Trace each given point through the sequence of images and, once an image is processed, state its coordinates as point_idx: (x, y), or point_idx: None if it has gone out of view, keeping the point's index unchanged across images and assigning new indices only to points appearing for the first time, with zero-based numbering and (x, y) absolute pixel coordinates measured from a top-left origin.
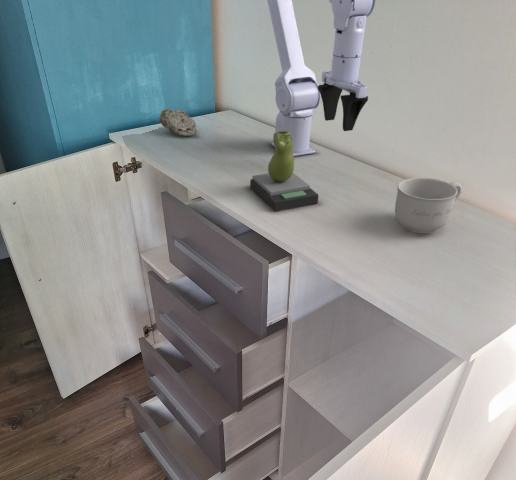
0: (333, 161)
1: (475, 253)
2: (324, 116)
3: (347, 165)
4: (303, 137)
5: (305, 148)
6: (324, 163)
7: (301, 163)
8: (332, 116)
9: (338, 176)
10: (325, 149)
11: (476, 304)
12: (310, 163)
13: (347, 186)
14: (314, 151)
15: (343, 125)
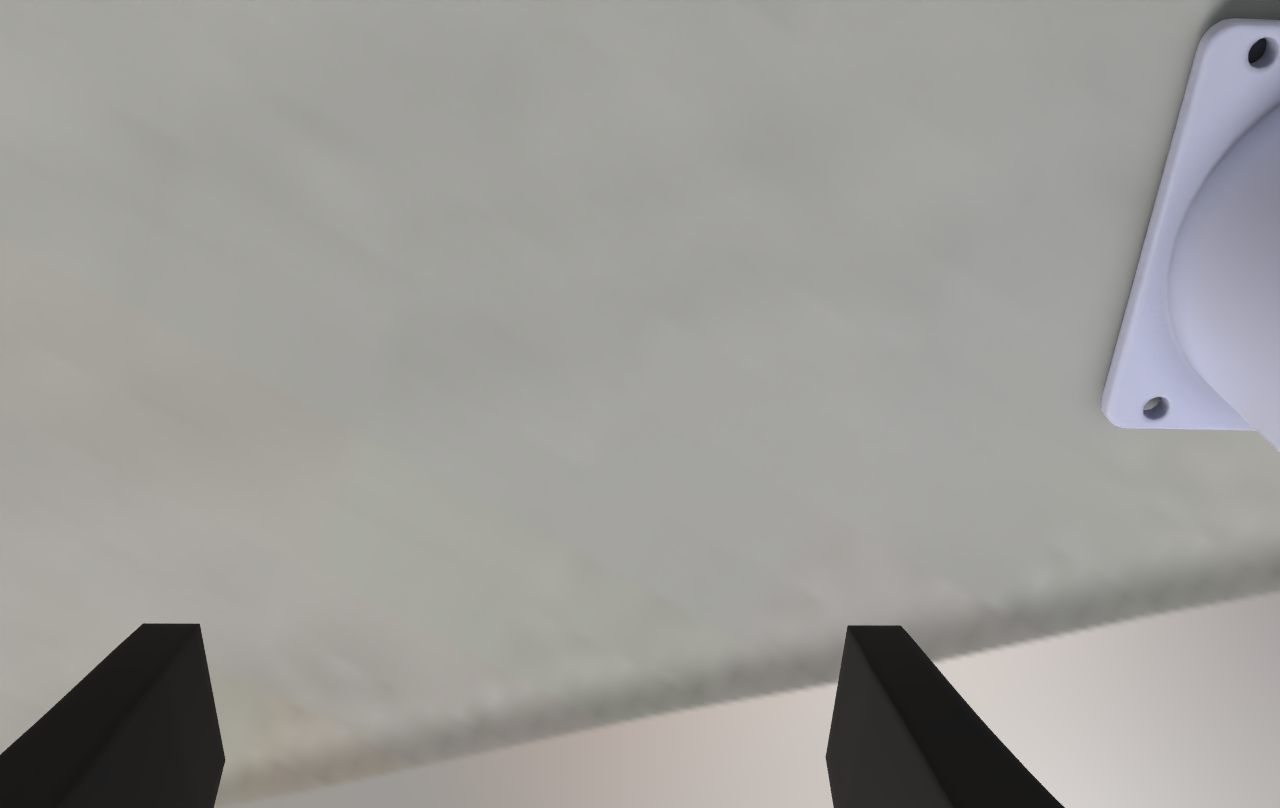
0: (801, 469)
1: None
2: (925, 656)
3: (638, 539)
4: (1276, 336)
5: (1188, 318)
6: (800, 353)
7: (941, 92)
8: (841, 774)
9: (396, 298)
10: (1129, 562)
11: None
12: (882, 201)
13: (92, 238)
14: (1110, 407)
15: (124, 674)
